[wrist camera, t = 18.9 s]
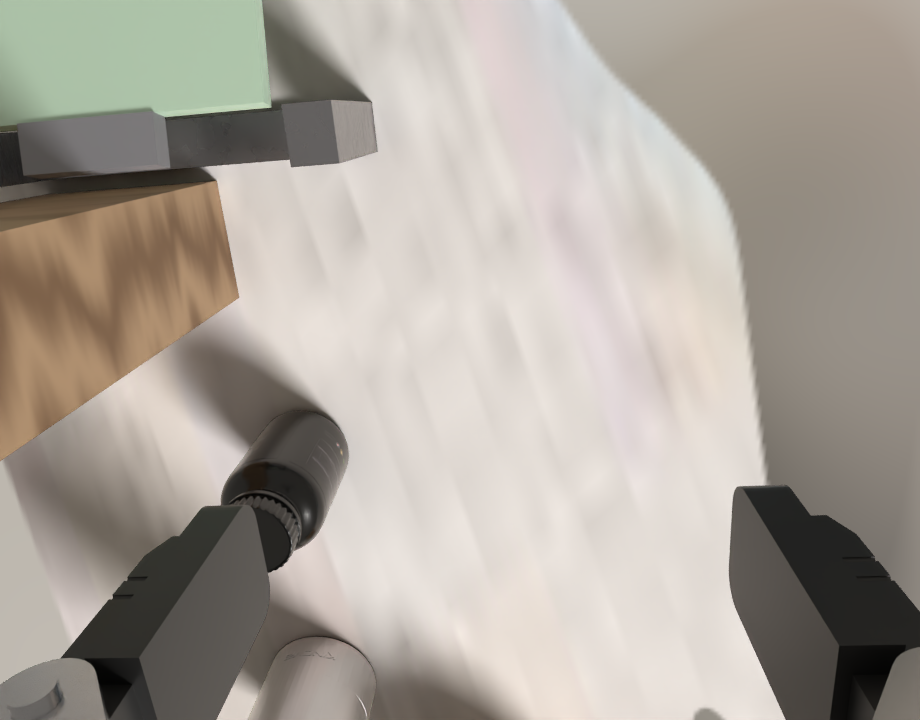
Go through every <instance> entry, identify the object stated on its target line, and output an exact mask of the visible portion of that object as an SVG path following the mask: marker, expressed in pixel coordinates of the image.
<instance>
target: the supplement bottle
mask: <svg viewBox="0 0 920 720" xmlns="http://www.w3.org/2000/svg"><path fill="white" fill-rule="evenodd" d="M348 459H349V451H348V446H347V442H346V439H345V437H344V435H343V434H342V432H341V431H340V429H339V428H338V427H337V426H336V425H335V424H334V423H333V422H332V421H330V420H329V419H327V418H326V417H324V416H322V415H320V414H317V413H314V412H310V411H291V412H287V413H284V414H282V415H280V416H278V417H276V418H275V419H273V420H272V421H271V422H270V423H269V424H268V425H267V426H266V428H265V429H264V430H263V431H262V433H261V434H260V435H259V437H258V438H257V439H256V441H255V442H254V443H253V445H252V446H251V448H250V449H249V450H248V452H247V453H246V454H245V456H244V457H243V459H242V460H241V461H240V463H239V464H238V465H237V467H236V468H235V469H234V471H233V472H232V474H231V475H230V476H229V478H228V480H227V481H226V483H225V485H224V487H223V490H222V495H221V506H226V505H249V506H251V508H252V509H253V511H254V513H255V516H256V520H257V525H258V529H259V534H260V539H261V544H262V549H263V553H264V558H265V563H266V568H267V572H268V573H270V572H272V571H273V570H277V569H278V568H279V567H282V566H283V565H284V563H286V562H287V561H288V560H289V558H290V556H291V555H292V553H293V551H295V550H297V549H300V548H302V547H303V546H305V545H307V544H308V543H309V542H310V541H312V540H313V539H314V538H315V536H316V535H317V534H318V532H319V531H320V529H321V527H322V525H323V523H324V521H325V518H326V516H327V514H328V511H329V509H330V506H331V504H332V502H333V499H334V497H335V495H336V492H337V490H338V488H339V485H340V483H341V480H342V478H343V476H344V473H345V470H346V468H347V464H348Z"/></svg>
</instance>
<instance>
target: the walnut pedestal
mask: <svg viewBox="0 0 920 720" xmlns="http://www.w3.org/2000/svg"><path fill="white" fill-rule="evenodd" d="M238 298H239V294H238V289H237V284H236V279H235V273H234V268H233V263H232V258H231V253H230V248H229V242H228V237H227V232H226V227H225V222H224V216H223V211H222V206H221V201H220V196H219V191H218V185H217V181H208V182H196V183H183V184H171V185H158V186H146V187H134V188H121V189H109V190H96V191H84V192H71V193H59V194H47V195H41V196H36V197H30V198H24V199H19V200H13V201H8V202H2V203H0V461H1V460H3V459H4V458H5V457H7V456H8V455H10V454H11V453H13V452H14V451H16V450H17V449H19V448H20V447H22V446H23V445H24V444H26V443H27V442H29V441H30V440H32V439H33V438H35V437H36V436H38V435H39V434H41V433H42V432H43V431H45V430H46V429H48V428H49V427H51V426H52V425H54V424H55V423H57V422H58V421H60V420H61V419H62V418H64V417H65V416H67V415H68V414H70V413H71V412H73V411H74V410H76V409H77V408H79V407H80V406H81V405H83V404H84V403H86V402H87V401H89V400H90V399H92V398H93V397H95V396H96V395H98V394H99V393H100V392H102V391H103V390H105V389H106V388H108V387H109V386H111V385H112V384H114V383H115V382H117V381H118V380H119V379H121V378H122V377H124V376H125V375H127V374H128V373H130V372H131V371H133V370H134V369H136V368H137V367H138V366H140V365H141V364H143V363H144V362H146V361H147V360H149V359H150V358H152V357H153V356H155V355H156V354H157V353H159V352H160V351H162V350H163V349H165V348H166V347H168V346H169V345H171V344H172V343H174V342H175V341H176V340H178V339H179V338H181V337H182V336H184V335H185V334H187V333H188V332H190V331H191V330H193V329H194V328H195V327H197V326H198V325H200V324H201V323H203V322H204V321H206V320H207V319H209V318H210V317H212V316H213V315H214V314H216V313H217V312H219V311H220V310H222V309H223V308H225V307H226V306H228V305H229V304H231V303H232V302H233V301H235V300H236V299H238Z"/></svg>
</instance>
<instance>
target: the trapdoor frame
mask: <svg viewBox="0 0 920 720" xmlns="http://www.w3.org/2000/svg"><path fill="white" fill-rule="evenodd" d="M281 106H282V110H275V111H264V112H253V113H242V114H231V115H220V116H208V117H197V118H186V119H175V120H165V122H166V131H167V141H168V150H169V159H170V168H167V169H155V170H143V171H131V172H119V173H106V174H94V175H82V176H70V177H58V178H46V179H38V178H33V177H28V176H23V168H22V161H21V153H20V145H19V138H18V132H14V133H0V187H4V186H11V185H18V184H24V183H31V182H38V181H45V180H51V179H59V178H71V177H83V176H96V175H108V174H120V173H132V172H144V171H156V170H168V169H181V168H193V167H205V166H217V165H229V164H241V163H253V162H265V161H278V160H290V163H291V167H299V166H312V165H324V164H336V163H342V162H345V161H349V160H352V159H355V158H358V157H362V156H365V155H368V154H372V153H375V152H377V143H376V134H375V126H374V117H373V109H372V102H360V101H344V100H321V101H310V102H299V103H288V104H281Z"/></svg>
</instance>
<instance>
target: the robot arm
mask: <svg viewBox="0 0 920 720" xmlns="http://www.w3.org/2000/svg"><path fill="white" fill-rule="evenodd" d="M729 581H730V588H731V594H732V598H733V602H734V605H735V608H736V610H737V613H738V615H739V617H740V619H741V621H742V624H743V626H744V628H745V630H746V633H747V635H748V637H749V639H750V641H751V644H752V646H753V648H754V650H755V652H756V655H757V657H758V659H759V661H760V664H761V666H762V668H763V670H764V672H765V675H766V677H767V679H768V681H769V684H770V686H771V688H772V690H773V692H774V695H775V697H776V699H777V701H778V703H779V706H780V708H781V710H782V712H783V715H784V717H785V719H786V720H920V612H919V610H918V609H917V608H916V607H915V605H914V604H913V603H912V602H911V601H910V599H909V598H908V597H907V596H906V594H905V593H904V592H903V591H902V590H901V588H900V587H899V586H898V585H897V583H896V582H895V581H891V579H890V575H889V574H888V572H887V571H886V570H885V569H884V567H883V566H882V565H881V564H880V563H879V561H875V556H874V555H873V554H872V553H871V551H870V550H869V549H868V548H867V547H866V545H865V544H864V543H863V542H862V541H861V539H860V538H859V537H858V536H857V534H855V533H854V532H852V531H851V530H849V529H847V528H846V527H844V526H843V525H841V524H840V523H838V522H836V521H835V520H833V519H832V518H830V517H829V516H827V515H820V516H819V515H817V516H811V515H810V514H809V513H808V511H807V510H806V509H805V507H804V506H803V505H802V503H801V502H800V501H799V499H798V498H797V496H796V495H795V494H794V492H793V491H792V490H791V489H790V487H788V486H787V485H768V486H739V487H737V488H736V489H735V492H734V495H733V505H732V523H731V540H730V557H729ZM269 599H270V584H269V577H268V573H267V568H266V563H265V558H264V553H263V549H262V544H261V539H260V534H259V529H258V525H257V520H256V516H255V513H254V511H253V509H252V508H251V506H249V505H226V506H205V507H203V508H202V509H201V510H200V511H199V512H198V513H197V515H196V516H195V517H194V518H193V520H192V521H191V522H190V524H189V525H188V526H187V527H186V529H185V530H184V531H183V532H182V534H181V535H180V536H174V537H171V538H170V539H168V540H167V541H165V542H164V543H162V544H161V545H160V546H158V547H157V548H155V549H154V550H152V551H151V552H150V553H148V554H147V555H145V556H144V558H143V559H142V560H141V561H140V563H139V564H138V565H137V566H136V567H135V569H134V570H133V571H132V572H131V573H130V575H129V576H128V580H127V581H124V582H123V583H122V584H121V586H120V587H119V588H118V589H117V590H116V592H115V593H114V594H113V599H112V600H108V601H107V603H106V604H105V605H104V606H103V607H102V609H101V610H100V611H99V612H98V613H97V615H96V616H95V617H94V618H93V620H92V621H91V622H90V623H89V624H88V626H87V627H86V628H85V629H84V630H83V632H82V633H81V634H80V635H79V637H78V638H77V639H76V640H75V641H74V643H73V644H72V645H71V646H70V647H69V649H68V650H67V651H66V652H65V654H64V655H63V656H62V657H61V658H60V659H56V660H51V661H48V662H43V663H41V664H38V665H35V666H32V667H30V668H28V669H26V670H24V671H21V672H20V673H18V674H16V675H14V676H12V677H11V678H9V679H8V680H6V681H5V682H3V683H2V684H1V685H0V720H216V719H217V717H218V715H219V713H220V711H221V709H222V707H223V705H224V703H225V701H226V699H227V696H228V694H229V692H230V690H231V688H232V686H233V684H234V682H235V680H236V678H237V676H238V674H239V672H240V670H241V668H242V666H243V663H244V661H245V659H246V657H247V655H248V653H249V651H250V649H251V647H252V645H253V643H254V641H255V639H256V637H257V635H258V633H259V631H260V628H261V626H262V624H263V622H264V620H265V618H266V615H267V611H268V606H269ZM375 690H376V679H375V674H374V671H373V669H372V667H371V665H370V664H369V662H368V661H367V659H366V658H365V657H364V656H363V655H362V654H361V653H360V652H359V651H358V650H356V649H354V648H353V647H351V646H350V645H348V644H346V643H344V642H341V641H339V640H335V639H331V638H327V637H307V638H302V639H299V640H295V641H293V642H291V643H289V644H288V645H286V646H285V647H284V648H282V649H281V650H280V651H279V652H278V654H277V655H276V657H275V658H274V660H273V663H272V665H271V667H270V670H269V672H268V674H267V677H266V679H265V681H264V683H263V686H262V688H261V690H260V693H259V695H258V697H257V699H256V701H255V704H254V706H253V708H252V711H251V713H250V715H249V718H248V720H369V717H370V712H371V708H372V704H373V700H374V695H375Z"/></svg>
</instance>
